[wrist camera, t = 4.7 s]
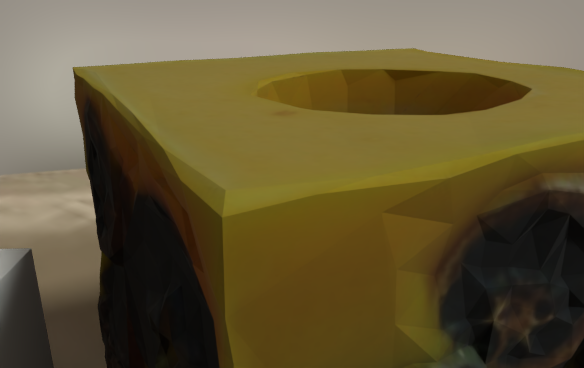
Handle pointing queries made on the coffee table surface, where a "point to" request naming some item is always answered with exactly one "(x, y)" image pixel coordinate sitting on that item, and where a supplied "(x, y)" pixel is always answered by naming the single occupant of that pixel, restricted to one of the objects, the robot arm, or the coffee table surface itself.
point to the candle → (337, 211)
